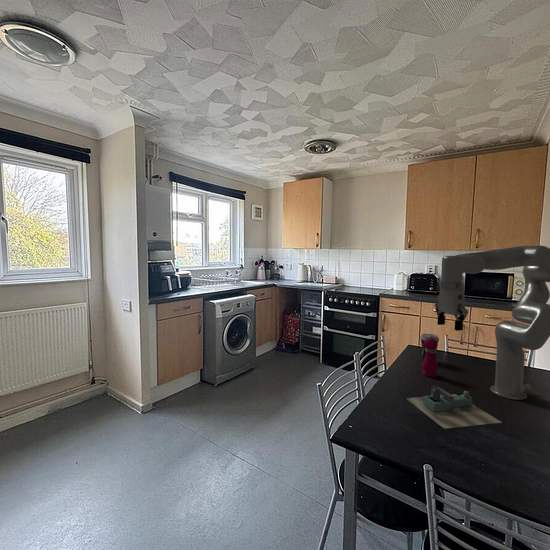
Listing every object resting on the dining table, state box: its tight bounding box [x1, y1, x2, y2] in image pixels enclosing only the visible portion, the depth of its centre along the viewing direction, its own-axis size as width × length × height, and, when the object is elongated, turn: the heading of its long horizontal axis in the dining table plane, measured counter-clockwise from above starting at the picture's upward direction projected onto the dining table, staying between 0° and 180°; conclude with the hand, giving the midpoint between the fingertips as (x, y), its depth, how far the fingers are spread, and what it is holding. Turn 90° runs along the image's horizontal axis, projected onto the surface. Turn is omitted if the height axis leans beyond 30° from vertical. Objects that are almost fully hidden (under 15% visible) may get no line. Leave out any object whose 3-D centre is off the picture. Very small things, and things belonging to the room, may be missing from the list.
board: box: [406, 384, 503, 430], centre depth 116 cm, size 23×22×7 cm
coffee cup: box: [419, 333, 440, 362], centre depth 171 cm, size 10×10×15 cm
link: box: [422, 390, 473, 412], centre depth 118 cm, size 18×6×5 cm, turn 99°
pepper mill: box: [421, 336, 439, 378], centre depth 152 cm, size 7×7×20 cm
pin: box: [432, 388, 441, 402], centre depth 117 cm, size 3×3×7 cm
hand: (449, 327), depth 125 cm, fingers open, 9 cm apart
